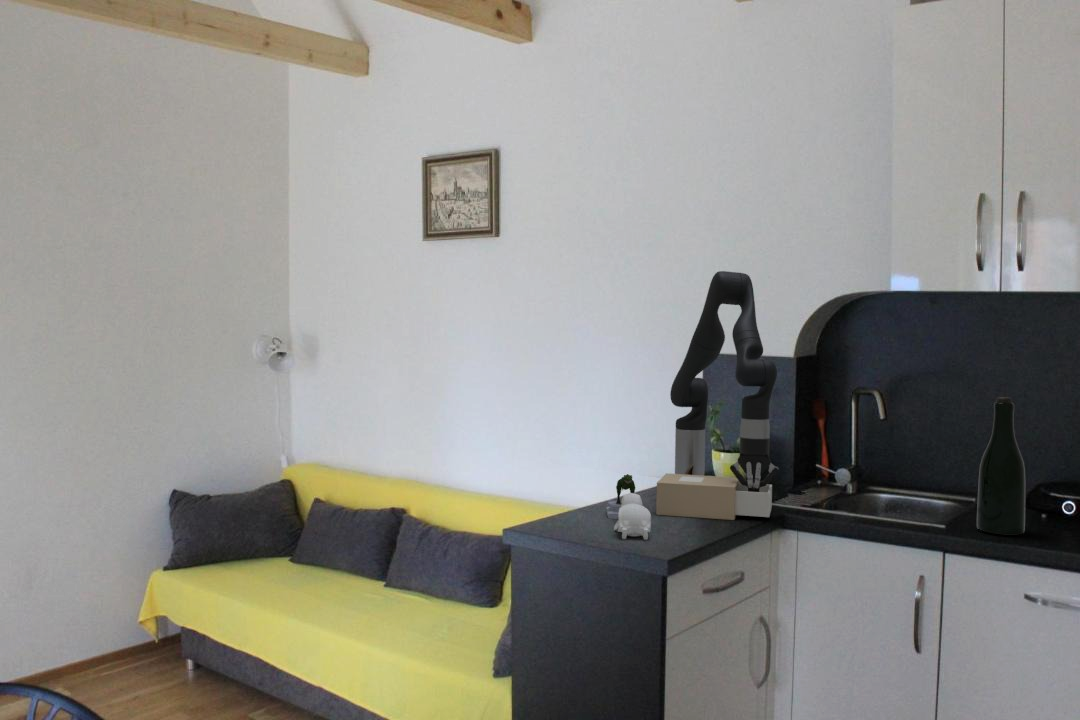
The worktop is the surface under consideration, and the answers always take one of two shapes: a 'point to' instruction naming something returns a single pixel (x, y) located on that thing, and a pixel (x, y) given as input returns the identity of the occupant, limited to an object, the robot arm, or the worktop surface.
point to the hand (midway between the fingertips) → (753, 501)
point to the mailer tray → (753, 501)
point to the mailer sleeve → (696, 496)
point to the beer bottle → (1002, 477)
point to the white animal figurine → (633, 517)
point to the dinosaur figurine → (615, 505)
